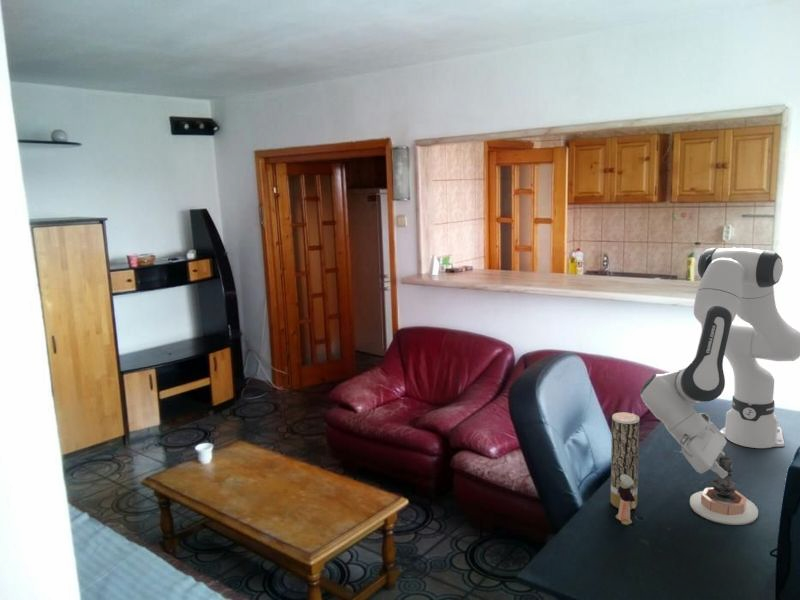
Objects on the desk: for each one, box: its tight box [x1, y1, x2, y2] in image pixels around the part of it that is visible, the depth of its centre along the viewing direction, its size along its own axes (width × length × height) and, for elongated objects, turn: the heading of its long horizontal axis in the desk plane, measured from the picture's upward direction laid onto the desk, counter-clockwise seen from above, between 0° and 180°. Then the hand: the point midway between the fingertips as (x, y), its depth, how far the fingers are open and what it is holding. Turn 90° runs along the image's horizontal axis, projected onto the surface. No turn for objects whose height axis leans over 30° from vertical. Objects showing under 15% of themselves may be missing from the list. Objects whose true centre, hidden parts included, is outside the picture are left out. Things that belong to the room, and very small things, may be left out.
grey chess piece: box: [711, 453, 738, 502], centre depth 164 cm, size 6×6×12 cm
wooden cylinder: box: [610, 411, 640, 510], centre depth 167 cm, size 7×7×25 cm
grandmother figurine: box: [615, 474, 637, 526], centre depth 160 cm, size 8×4×13 cm, turn 23°
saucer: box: [689, 486, 759, 526], centre depth 165 cm, size 16×16×4 cm
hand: (727, 472), depth 163 cm, fingers closed on grey chess piece, 4 cm apart
